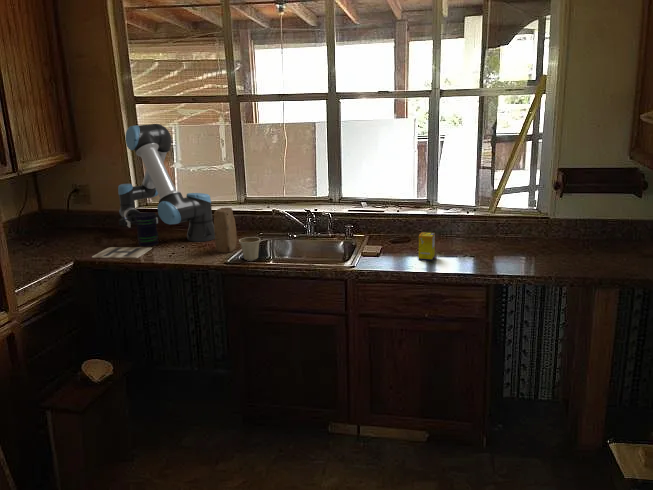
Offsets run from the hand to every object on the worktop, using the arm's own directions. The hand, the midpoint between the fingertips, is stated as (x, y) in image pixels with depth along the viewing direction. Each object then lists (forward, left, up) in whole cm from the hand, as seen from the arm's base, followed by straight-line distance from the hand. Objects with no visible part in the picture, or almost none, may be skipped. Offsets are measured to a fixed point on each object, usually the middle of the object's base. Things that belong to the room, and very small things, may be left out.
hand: (143, 222), depth 288 cm
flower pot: (-62, +27, -10) cm, 68 cm away
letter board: (+2, +20, -10) cm, 23 cm away
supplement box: (-139, +25, -10) cm, 141 cm away
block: (-47, +14, -10) cm, 50 cm away
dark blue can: (-3, +3, -10) cm, 11 cm away
